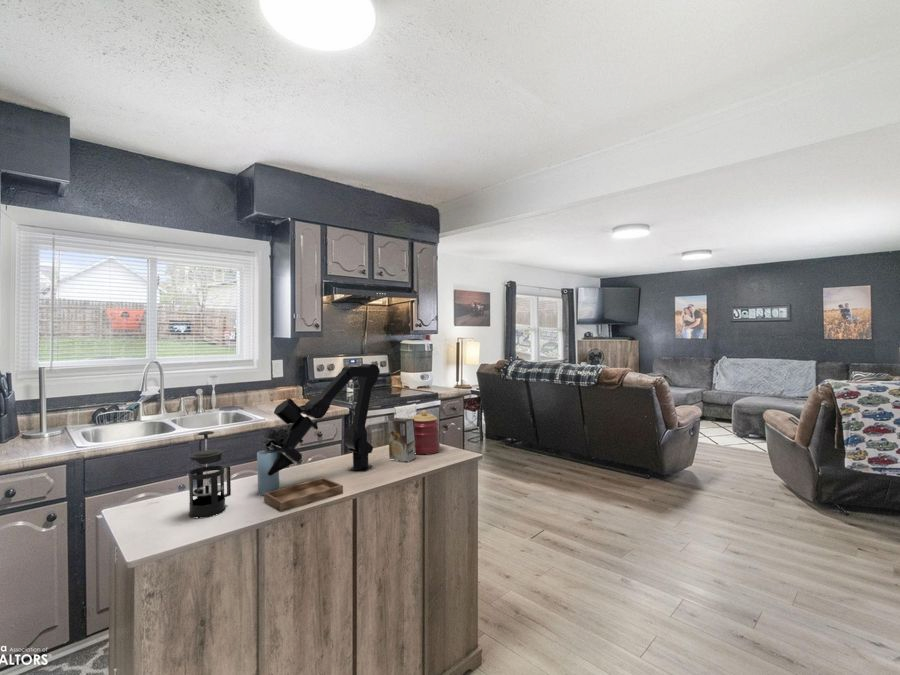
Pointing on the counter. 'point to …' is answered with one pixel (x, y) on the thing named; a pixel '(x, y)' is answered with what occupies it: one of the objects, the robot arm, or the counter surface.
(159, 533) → the counter surface
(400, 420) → the coffee box
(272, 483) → the cup
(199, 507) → the french press
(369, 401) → the robot arm
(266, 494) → the tray
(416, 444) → the canister
